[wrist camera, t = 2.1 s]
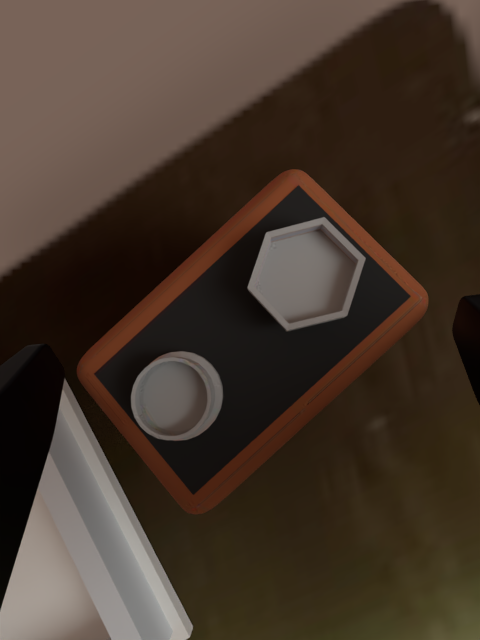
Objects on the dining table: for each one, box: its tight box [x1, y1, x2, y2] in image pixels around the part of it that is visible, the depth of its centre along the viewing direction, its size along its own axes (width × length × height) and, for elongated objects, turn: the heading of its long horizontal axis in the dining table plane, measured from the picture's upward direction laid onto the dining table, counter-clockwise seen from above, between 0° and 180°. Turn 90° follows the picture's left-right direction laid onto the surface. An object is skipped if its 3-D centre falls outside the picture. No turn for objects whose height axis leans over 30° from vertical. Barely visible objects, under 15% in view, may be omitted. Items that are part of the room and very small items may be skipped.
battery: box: [77, 169, 428, 514], centre depth 12 cm, size 4×7×10 cm, turn 132°
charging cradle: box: [0, 379, 193, 640], centre depth 16 cm, size 13×10×3 cm
